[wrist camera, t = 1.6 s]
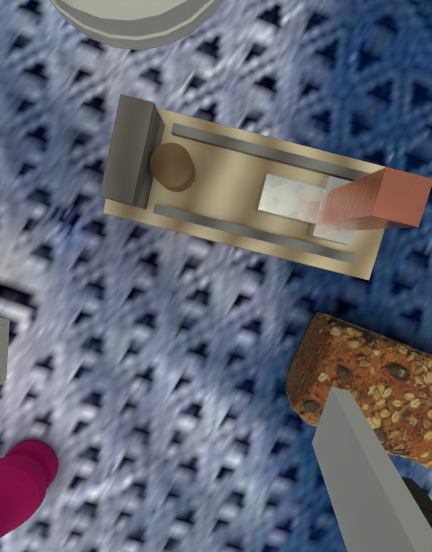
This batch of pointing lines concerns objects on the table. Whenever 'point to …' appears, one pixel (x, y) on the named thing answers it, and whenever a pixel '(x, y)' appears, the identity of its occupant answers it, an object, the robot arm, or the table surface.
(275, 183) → the carriage
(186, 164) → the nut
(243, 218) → the board
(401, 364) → the bread
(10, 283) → the table surface
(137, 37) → the dish
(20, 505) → the pepper mill
